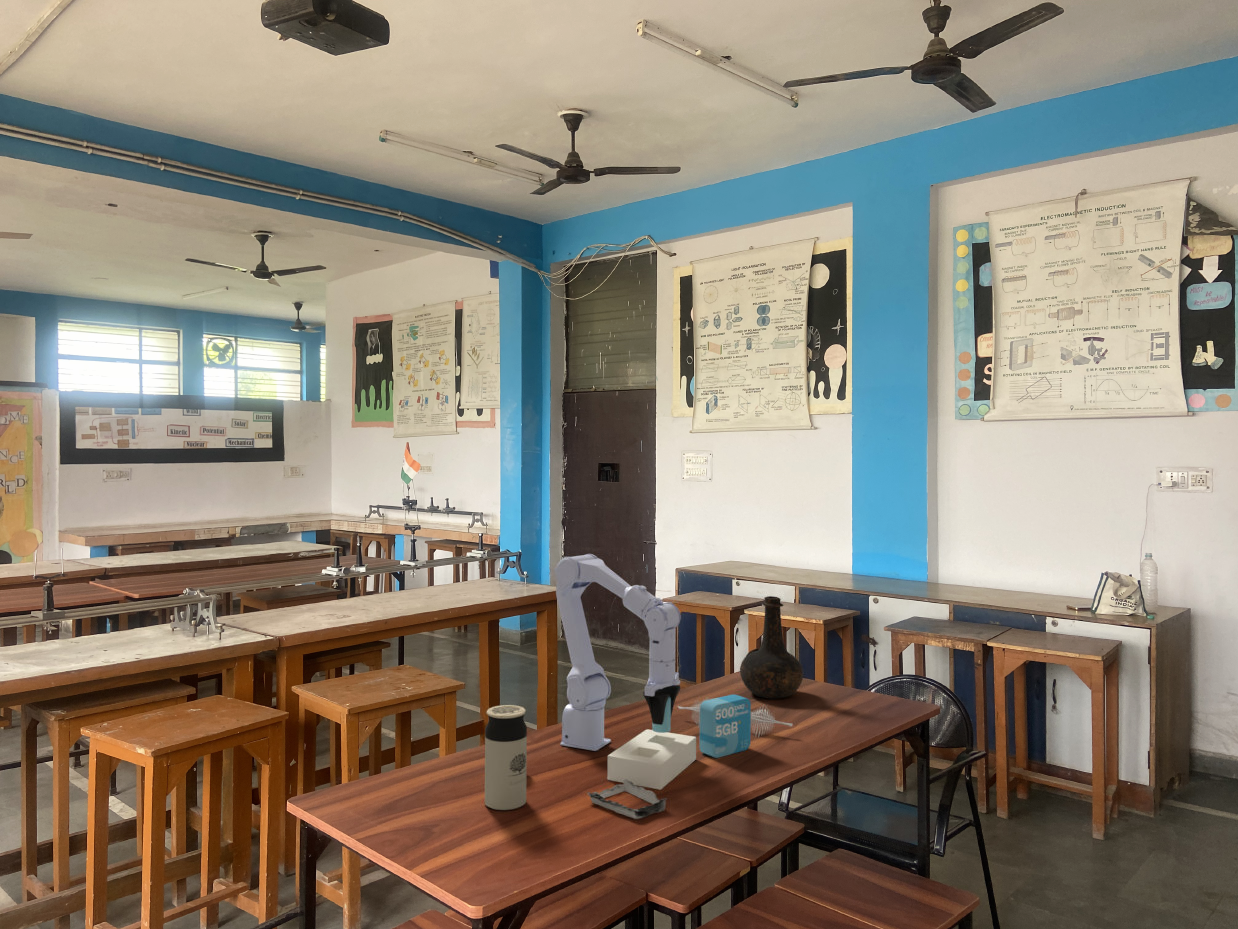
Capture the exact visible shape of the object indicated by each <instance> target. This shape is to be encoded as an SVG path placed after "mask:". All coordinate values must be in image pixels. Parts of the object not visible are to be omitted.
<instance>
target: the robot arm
mask: <svg viewBox="0 0 1238 929" xmlns="http://www.w3.org/2000/svg"><path fill="white" fill-rule="evenodd" d="M554 574H555V579H556V588H555V590H556V591H555V595H556V601H557V605H558V610H559V613H560V618H561V621H562V622H561V624H562V627H563V628H562V629H563V631H564V636H565V641H566V644H567V648H568V653H569V658H570V659H569V660H570V662H571V666H572V667H571V669H570V671H569V673H568V675H567V676H566V682H567V690H566V698H567V700H568V702H569V703H567V705H565V707H564V709H563V711H562V717H561V731H562V732H561V742H560V744H559V745H560V746H565V747H569V748H570V747H571V748H576V749H582V750H587V751H594V752H596V751H599V750H600V749H601V748H603V747H604V746H605V745H606V746H607V745H608V744H609V743H611V742H612V740H611V739H610V738H605V705H606V703H607V702H606V701H607V699H608V698H609V697H610V695H611V693H612V686H611V683H610V680H609V679H608V678H607V676H606V674H605V670H604V667H602V666H601V665H600V664H599V663H598V662H596V658H595V655H594V651H593V647H592V641H591V637H590V633H589V629H588V625H587V621H586V620H587V619H586V616H585V612H584V608H583V602H582V599H581V596H582V594H583V593H584V591H585V590H586V588H587V587H588V586H590V585H591V583H597V584H599V585H600V586H602V587H603V588H605V589H607V591H608V590H609V591H610V592H611V593H613V594H615V595H616V596H617V597H619V598H621V599H622V605H623V606H624V607H625V608H626V609H627V610H629V611H630V612H632V613H633V614H634V615H636V616H637V617H638V618H640V619H641V620H642V621H643V623H644V625H645V627H646V629H647V632H648V638H649V655H648V656H649V657H648V658H649V660H648V663H649V664H648V666H649V667H648V670H649V671H648V674H649V675H648V679H647V683H646V685H645V686H644V691H643V694H642V695H643V698H644V699H645V701H646V703H647V705H648V709H649V712H650V718H651V721H652V722H653V724H658V725H662V724H663V721H664V713H665V707H666V703H667V700H668V698H669V697H670V698H671V716H672V714H673V711H674V706H675V703H676V700H677V697H678V694H679V692H680V691H681V680H680V679H679V676H680V674H679V672H676V632H677V631H676V628H678V626H679V624H680V622H681V618H682V617H681V616H682V615H681V612H680V609H679V608H678V607H677V606H676V605H675V604H674V603H673V602H670V601H669V602H663V599H661V598H660V597H656V596H655V595H653V594H652V593H650V591H647V587H646V586H644V585H638V584H635V585H632V586H631V585H630V584H629V583H628V582H627V581H625V580H624V579H623V578H622V577H621V576H620V575H618V574H617V573H616V572H614V571H613V570H611V568H610V567H608V565H606V564H605V562H604V560H603V559H601V558H598V556H597V555H594V554H592V553H586V554H584V555H583V554H582V555H576V556H565V557H562V558H561V559H560V560H559V562H558V563H557V565H556V567H554Z"/></svg>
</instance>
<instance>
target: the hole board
mask: <svg viewBox="0 0 1238 929" xmlns="http://www.w3.org/2000/svg"><path fill="white" fill-rule="evenodd" d="M695 760H697V737H696V736H692V735H686V734H679V733H673V732H665V733H659V732H654V731H653V730H652V729H645V730H643V731H642V732H640V733H639V734H638V735H636V736H635V737H633V738H632V739H630V740H628V741H627V742H626V743H624V744H623V745H622V746H620V747H619V748H617V749H615V750H613V751H612V752H611V753H610V754H608V755H607V780H608V781H612V782H618V783H623V784H624V782H623V780H625V779H627V780H630V781H631V782H633V783H634V785H637V787H640V786H641V787H643V788H649V789H655V790H662V789H664V788H665V786H667V785H668V784H669V783H671V781H673V780H674V779H675V778H676V777H677V776H679V775H680V774H681V773H682V772H683V771H685V769H686V768H688V767H689V766H690V765H691V764H693V762H695Z"/></svg>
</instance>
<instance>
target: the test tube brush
mask: <svg viewBox="0 0 1238 929" xmlns="http://www.w3.org/2000/svg"><path fill="white" fill-rule="evenodd" d="M710 699H711V696H709V698H708V696H706V699H705V698H703V700H710ZM693 702H694V703H696V704H694V705H693V703H692V704H691V705H690V707H688V706H685V707H684V706H679V705H677V708H678V709H679V710H691V711H692V715H691V720H693V721H694V722H695V724H697V725H698V726H697V728H700V706H701V703H702V702H703V701H699V700H697V701H696V700H693ZM762 705H763V706H761V705H760V707H759V709H756V708H755V709H753V710H752V711H751V727H752V730H751V732H755V730H756V732H755V736H754V737H757V734H758V738H759V737H760V734H761V737H762V735H763V734H765V732H769V731H772V729H774V728H775V726H774V725H775V724H782V725H785V726H789V727H793V723H791V722H790V723H788V722H784V721H779V720H775V717H776V716H774V715H773V712H771V713H770V710H766V709H767V706H768V704H767V705H766V706H765V704H762ZM764 706H765V709H764ZM761 707H762V709H761ZM754 720H755V721H754ZM758 730H759V732H758Z"/></svg>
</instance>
